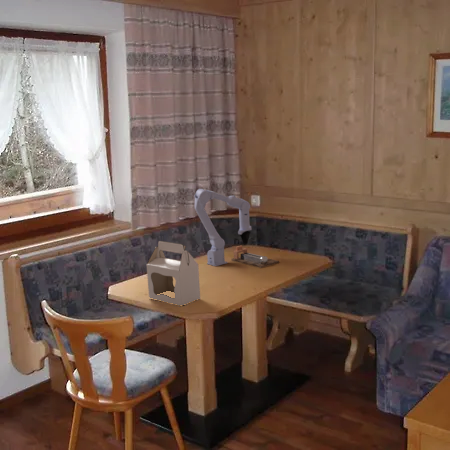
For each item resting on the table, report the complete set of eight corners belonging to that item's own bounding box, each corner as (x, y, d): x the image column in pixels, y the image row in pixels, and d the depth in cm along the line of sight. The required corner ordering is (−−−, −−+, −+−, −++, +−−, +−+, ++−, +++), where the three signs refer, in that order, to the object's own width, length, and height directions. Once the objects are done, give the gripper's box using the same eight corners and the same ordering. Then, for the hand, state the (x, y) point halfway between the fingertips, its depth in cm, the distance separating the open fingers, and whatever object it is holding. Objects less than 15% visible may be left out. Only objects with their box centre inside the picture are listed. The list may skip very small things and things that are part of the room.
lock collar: (247, 256, 380) (246, 245, 378) (237, 259, 375) (236, 248, 373) (243, 255, 382) (243, 244, 381) (233, 258, 377) (233, 247, 376)
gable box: (201, 299, 310) (197, 242, 304) (182, 307, 300) (178, 248, 295) (167, 291, 324) (163, 237, 319) (148, 299, 314) (144, 242, 309)
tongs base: (269, 263, 363) (268, 257, 363) (263, 264, 361) (263, 258, 360) (246, 257, 378) (245, 251, 377) (240, 259, 375) (240, 253, 374)
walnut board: (279, 262, 367) (279, 261, 367) (261, 268, 358) (261, 266, 358) (249, 255, 386) (249, 254, 386) (231, 260, 377) (231, 258, 377)
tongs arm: (263, 261, 367) (263, 256, 366) (261, 261, 366) (261, 256, 365) (246, 257, 378) (245, 252, 377) (244, 257, 377) (244, 252, 376)
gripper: (245, 223, 365) (246, 247, 367) (255, 218, 377) (256, 241, 380) (234, 223, 368) (235, 246, 370) (244, 218, 380) (245, 240, 383)
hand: (245, 244), depth 376 cm, fingers closed
